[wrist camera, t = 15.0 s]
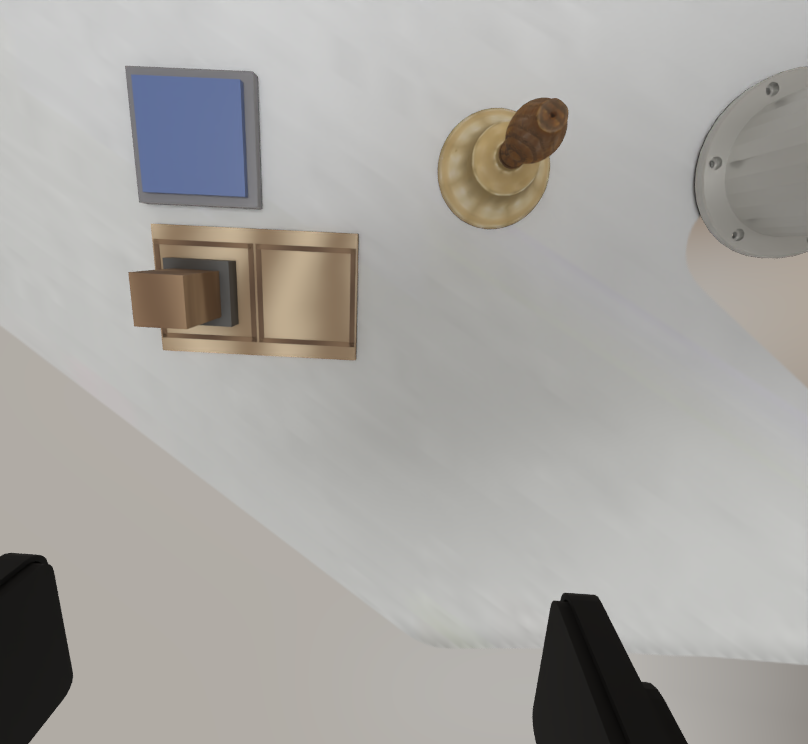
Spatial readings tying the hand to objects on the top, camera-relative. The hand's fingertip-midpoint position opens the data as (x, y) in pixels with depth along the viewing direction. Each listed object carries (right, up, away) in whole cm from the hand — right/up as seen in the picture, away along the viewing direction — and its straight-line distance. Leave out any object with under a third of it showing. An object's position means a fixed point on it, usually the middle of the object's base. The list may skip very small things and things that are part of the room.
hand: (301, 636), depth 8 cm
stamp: (-14, +11, +28) cm, 33 cm away
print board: (-10, +11, +28) cm, 32 cm away
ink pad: (-13, +22, +25) cm, 36 cm away
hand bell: (+9, +20, +26) cm, 34 cm away
